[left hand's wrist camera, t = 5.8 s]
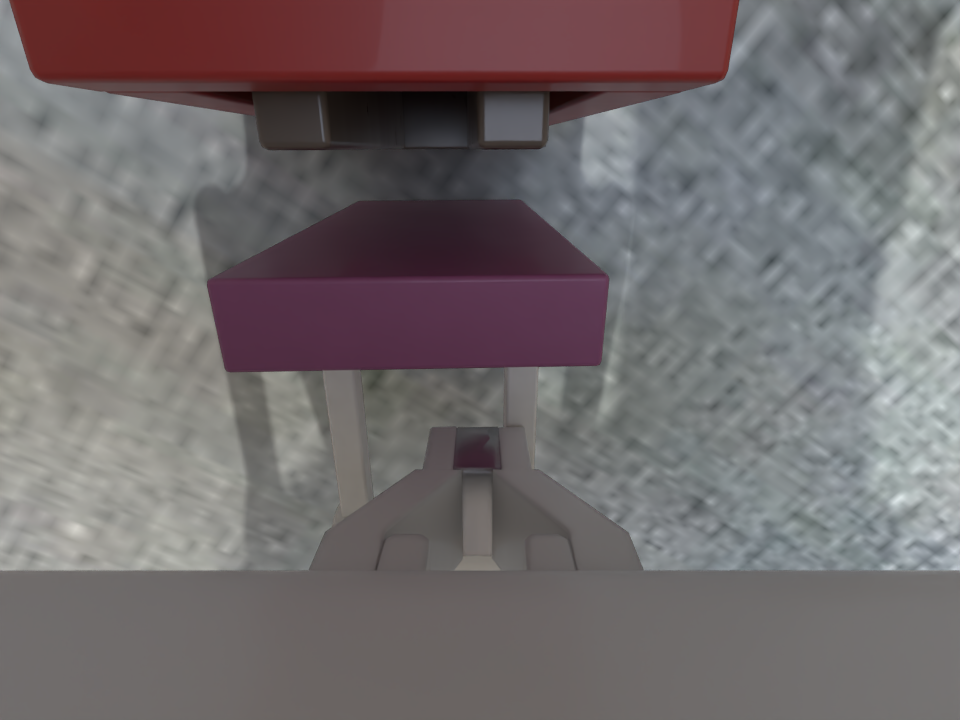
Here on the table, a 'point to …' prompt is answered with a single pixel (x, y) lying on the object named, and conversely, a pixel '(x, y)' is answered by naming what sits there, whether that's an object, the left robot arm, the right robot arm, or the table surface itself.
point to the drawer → (410, 271)
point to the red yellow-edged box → (380, 48)
